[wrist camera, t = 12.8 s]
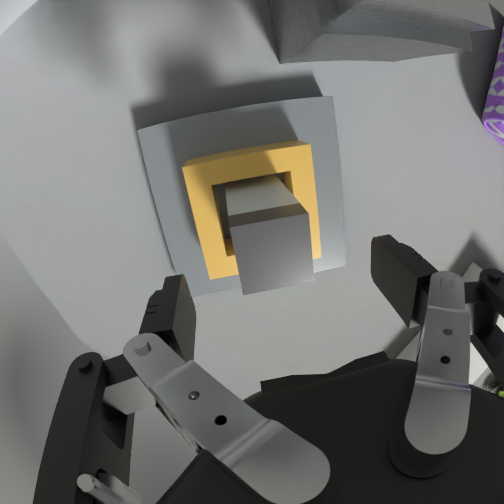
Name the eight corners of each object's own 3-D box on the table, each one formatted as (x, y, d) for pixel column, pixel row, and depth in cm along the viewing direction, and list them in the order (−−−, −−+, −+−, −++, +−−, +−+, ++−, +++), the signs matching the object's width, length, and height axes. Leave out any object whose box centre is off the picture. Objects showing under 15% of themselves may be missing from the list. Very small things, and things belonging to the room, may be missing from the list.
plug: (273, 173, 22) (308, 213, 14) (280, 219, 23) (314, 280, 15) (224, 182, 22) (229, 227, 14) (233, 228, 23) (243, 295, 15)
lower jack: (323, 96, 21) (348, 94, 17) (337, 255, 28) (359, 283, 23) (143, 128, 21) (125, 133, 17) (185, 285, 27) (181, 320, 23)
